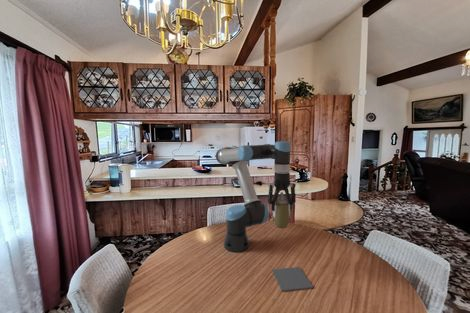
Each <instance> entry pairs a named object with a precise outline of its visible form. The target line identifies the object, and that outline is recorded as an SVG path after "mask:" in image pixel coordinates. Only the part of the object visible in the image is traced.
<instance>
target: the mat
mask: <svg viewBox="0 0 470 313" xmlns="http://www.w3.org/2000/svg"><path fill="white" fill-rule="evenodd" d="M271 271H272V273H273V275H274V277H275V279H276V282H277V283H278V285H279V288H280V290H281V292H291V291H301V290H308V289H314V285H313V284H312V283H311V281H310V279H308V277H307V276H306V274H305V273H304V272H303V270H302V269H301V267H300V266H295V267H293V266H292V267H284V268H276V269H275V268H274V269H273V268H272V270H271Z"/></svg>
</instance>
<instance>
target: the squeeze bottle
mask: <svg viewBox="0 0 470 313" xmlns="http://www.w3.org/2000/svg"><path fill="white" fill-rule="evenodd" d="M287 203H288V202H287V198H285V196H284V192H283V191H280V192H279V196H278V197H277V200H276V203H275V204H276V218H275V217H274V216H273V222H274V226H275V227H276V228H277V229H286V228H288V225H289V222H290V217H289V209H288V204H287Z"/></svg>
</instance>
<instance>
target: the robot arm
mask: <svg viewBox="0 0 470 313" xmlns="http://www.w3.org/2000/svg"><path fill="white" fill-rule="evenodd" d="M291 151H292V150H291V142H290V141H287V140H285V141H284V140H282V141H280V140H279V141H275V142H274V144H270V143H265V144H257V145H255V144H254V145H253V144H252V145H250V144H249V145H248V144H246V145H240V146H235V147H234V146H233V147H231V146H229V147H221V148H219V149H218V150H217V151H216V153H215V160H216V161H217V162H218V163H219V164H221V165H231V167H232V169H234V170H235V174H236V178H237V181H238V183H239V187H240V191H241V194H242V196H243V200H244V204H243V205H242V204H236V205H233V206H232V205H231V206H230V207H229V208H227V209H226V213H225V214H226V216H225V219H226V234H225V237H224V240H223V247H224V249H225V250H226V251H229V252H232V253H241V252H244V251H247V249H249V247H250V241H249V238H248V237H249V236H248V235H247V228H249V227H253V226H257V225H262V224H265V223H267V221H268V219H269V209H268V206H267V205H266V204H265V203H262V200H261V199H260V198H258V196H257V193H256V188H255V186H254V183H253V180H252V177H251V174H250V171H249V167H248V164H249V161H254V160H268V159H271V160H274V181H273V183H268V195H267V196H268V199H267V203H268V204H269V205H271V211H272V214H273V215H272V216H273V218H274V217H275V218H276V203H277V199H278V198H279V195H280V193H281V192H283V191H284V194H285V196H286V201H287V202H286V203H287V204H288V209H289V218H290V217H291V211H292V208H293V207H292V206H293V204H294V203H296V183H294V182H291V181H290V179H291ZM274 187H275V189H274ZM289 187H290V192H289ZM273 193H274V194H273Z"/></svg>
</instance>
